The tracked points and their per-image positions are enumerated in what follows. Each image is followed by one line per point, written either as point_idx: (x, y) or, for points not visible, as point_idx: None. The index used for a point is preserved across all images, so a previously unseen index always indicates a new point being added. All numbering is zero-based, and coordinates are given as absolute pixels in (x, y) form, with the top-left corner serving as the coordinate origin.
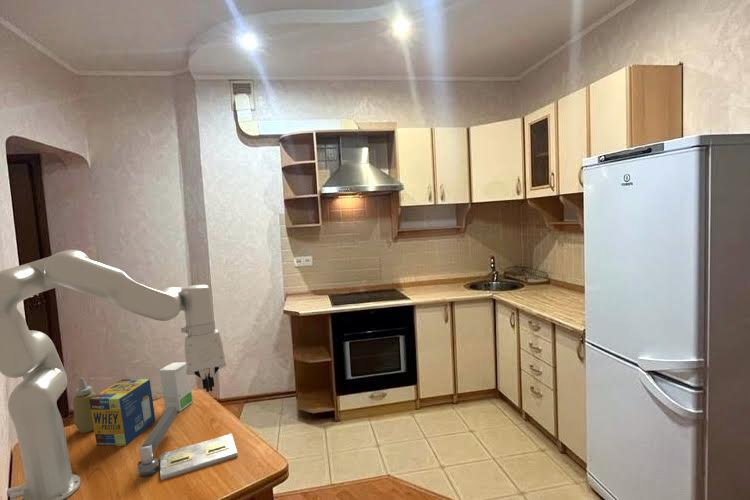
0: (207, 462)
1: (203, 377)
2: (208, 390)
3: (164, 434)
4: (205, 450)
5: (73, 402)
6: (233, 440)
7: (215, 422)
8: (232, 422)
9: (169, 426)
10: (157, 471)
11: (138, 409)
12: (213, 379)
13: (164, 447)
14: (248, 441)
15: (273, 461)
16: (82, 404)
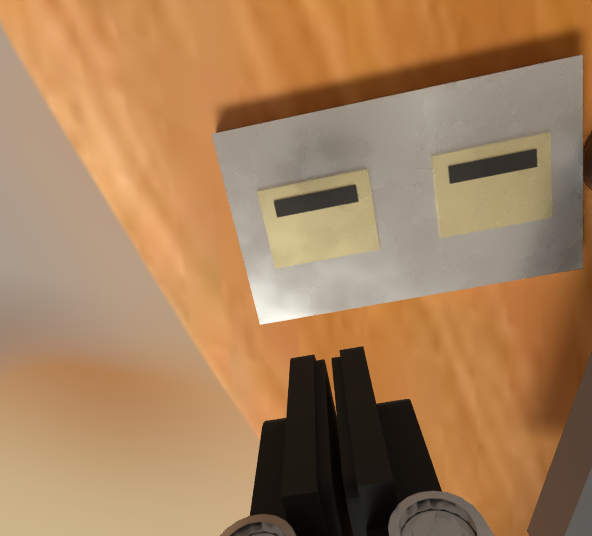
0: (355, 103)
1: (431, 532)
2: (341, 361)
3: (590, 364)
4: (372, 210)
5: None
6: (243, 257)
7: None
8: None
9: (564, 433)
10: (588, 140)
11: None
12: (254, 496)
13: (558, 344)
14: (179, 250)
15: (27, 9)
16: None
